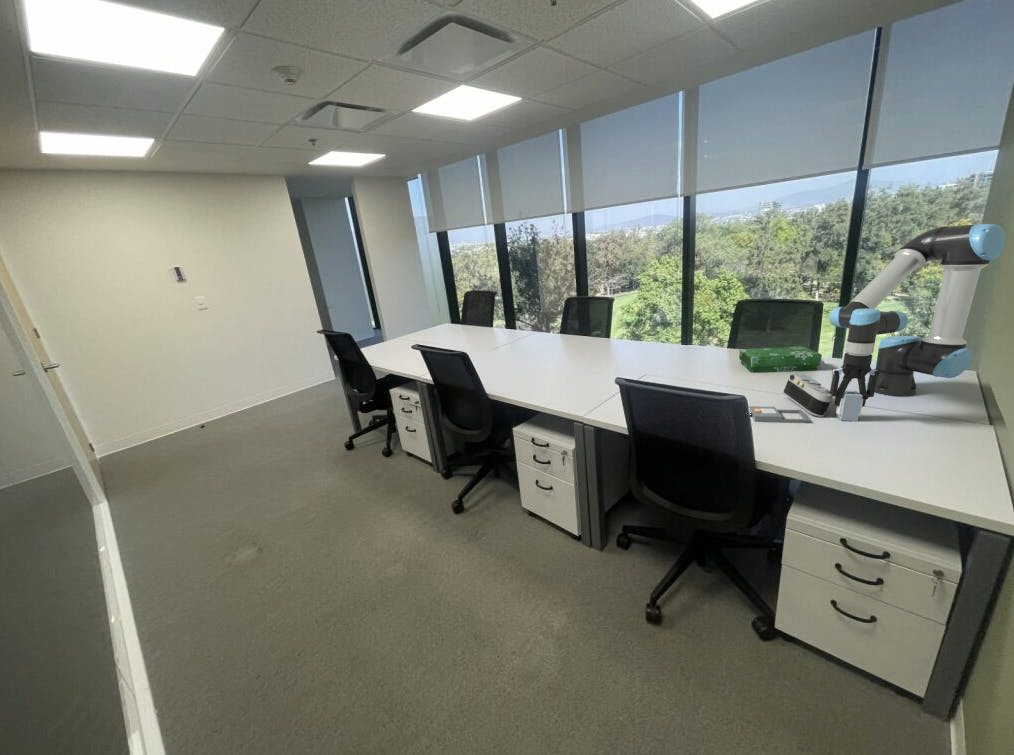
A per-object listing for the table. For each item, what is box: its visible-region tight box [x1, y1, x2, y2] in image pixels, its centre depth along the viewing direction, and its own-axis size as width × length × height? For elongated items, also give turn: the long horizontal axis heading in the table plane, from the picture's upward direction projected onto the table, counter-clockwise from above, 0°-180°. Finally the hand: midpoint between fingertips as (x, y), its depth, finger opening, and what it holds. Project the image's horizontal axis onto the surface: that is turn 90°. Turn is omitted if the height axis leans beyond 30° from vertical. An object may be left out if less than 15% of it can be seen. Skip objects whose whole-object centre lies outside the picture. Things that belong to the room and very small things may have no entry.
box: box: [738, 346, 823, 374], centre depth 208 cm, size 32×18×10 cm, turn 78°
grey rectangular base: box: [748, 405, 811, 424], centre depth 158 cm, size 21×10×3 cm, turn 72°
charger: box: [834, 390, 863, 422], centre depth 150 cm, size 5×5×10 cm
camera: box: [782, 371, 834, 418], centre depth 162 cm, size 22×10×10 cm, turn 177°
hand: (847, 413), depth 150 cm, fingers closed on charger, 5 cm apart
